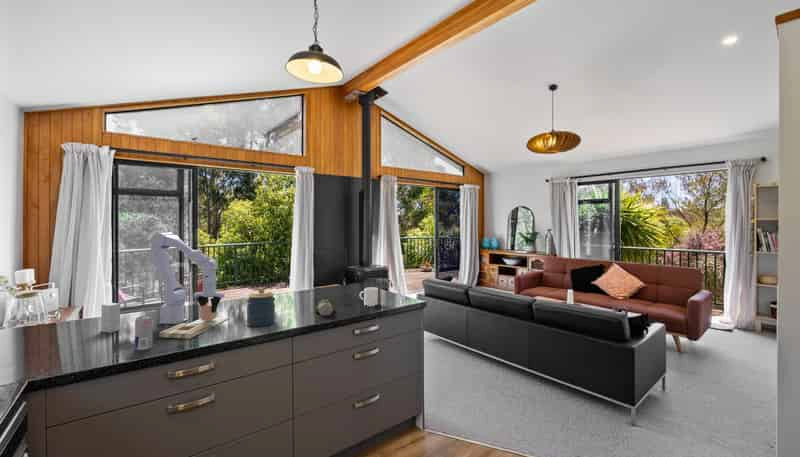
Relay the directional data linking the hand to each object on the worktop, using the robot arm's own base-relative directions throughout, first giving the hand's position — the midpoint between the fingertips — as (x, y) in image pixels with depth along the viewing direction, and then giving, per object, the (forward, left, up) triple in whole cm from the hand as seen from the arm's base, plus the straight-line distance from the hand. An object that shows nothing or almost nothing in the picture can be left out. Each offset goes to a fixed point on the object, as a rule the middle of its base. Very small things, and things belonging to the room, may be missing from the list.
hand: (209, 311), depth 166 cm
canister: (+26, +1, -5) cm, 27 cm away
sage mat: (0, 0, -5) cm, 5 cm away
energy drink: (-3, -35, -5) cm, 35 cm away
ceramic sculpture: (+51, +23, -5) cm, 56 cm away
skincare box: (-34, -18, -5) cm, 39 cm away
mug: (+71, +44, -5) cm, 84 cm away
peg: (0, 0, -3) cm, 4 cm away
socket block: (0, -16, -5) cm, 17 cm away
